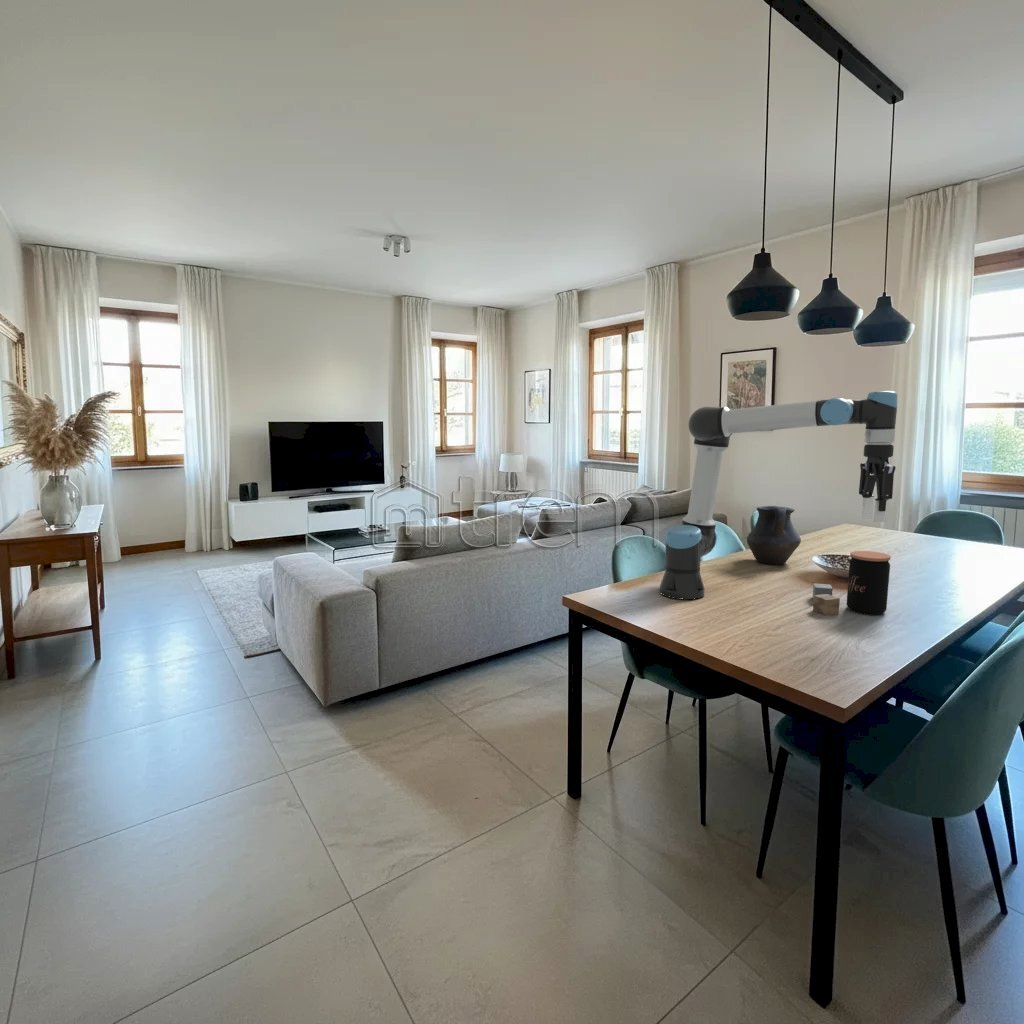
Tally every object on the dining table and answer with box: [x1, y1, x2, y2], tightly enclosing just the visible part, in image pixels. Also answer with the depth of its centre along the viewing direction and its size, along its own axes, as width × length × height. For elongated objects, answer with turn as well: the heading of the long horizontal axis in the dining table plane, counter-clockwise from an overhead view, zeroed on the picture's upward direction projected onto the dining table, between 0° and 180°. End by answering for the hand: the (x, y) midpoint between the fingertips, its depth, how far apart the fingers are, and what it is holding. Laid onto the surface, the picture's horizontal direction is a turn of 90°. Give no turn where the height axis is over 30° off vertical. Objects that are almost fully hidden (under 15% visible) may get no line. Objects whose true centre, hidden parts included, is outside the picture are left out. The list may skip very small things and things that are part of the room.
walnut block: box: [812, 594, 841, 616], centre depth 178 cm, size 5×5×5 cm
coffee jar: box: [846, 550, 892, 616], centre depth 178 cm, size 11×11×18 cm
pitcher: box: [746, 505, 802, 566], centre depth 240 cm, size 21×22×25 cm
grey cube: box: [812, 583, 833, 600], centre depth 190 cm, size 5×5×5 cm
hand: (872, 519), depth 175 cm, fingers open, 5 cm apart
